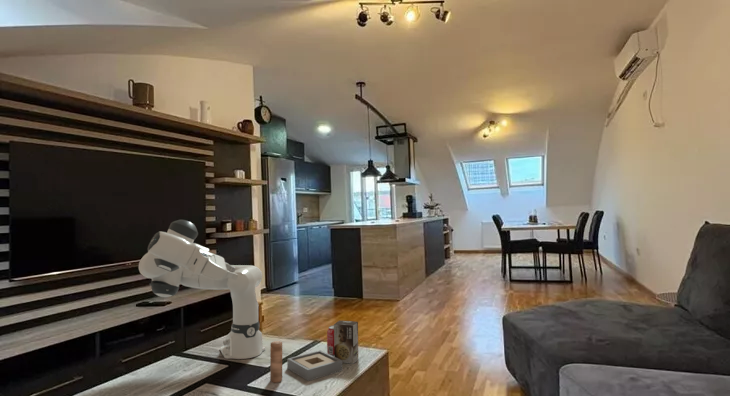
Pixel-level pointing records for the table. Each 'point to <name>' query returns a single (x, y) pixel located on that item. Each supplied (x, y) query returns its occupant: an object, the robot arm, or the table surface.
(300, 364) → the peg box
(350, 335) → the coffee box
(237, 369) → the table surface
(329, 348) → the soda can
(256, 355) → the robot arm
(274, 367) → the peg
